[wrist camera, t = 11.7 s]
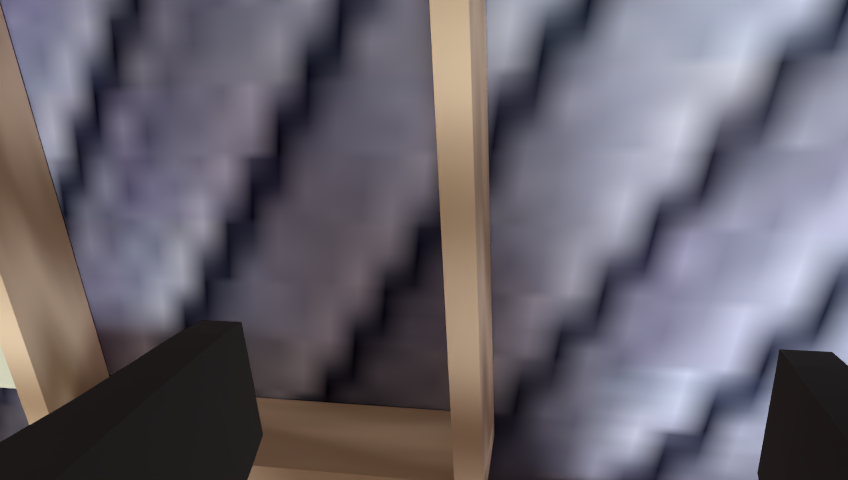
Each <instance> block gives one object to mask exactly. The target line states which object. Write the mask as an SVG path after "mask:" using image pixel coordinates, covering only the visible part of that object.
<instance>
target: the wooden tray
mask: <svg viewBox="0 0 848 480" xmlns="http://www.w3.org/2000/svg"><path fill="white" fill-rule="evenodd" d="M429 5H430V24H431V44H432V63H433V82H434V101H435V121H436V140H437V159H438V179H439V198H440V217H441V237H442V256H443V275H444V294H445V314H446V333H447V352H448V372H449V391H450V410H451V411H443V410H428V409H414V408H400V407H385V406H371V405H357V404H342V403H328V402H314V401H299V400H285V399H271V398H257V397H256V400H257V405H258V410H259V416H260V421H261V426H262V431H263V436H262V439H261V442H260V445H259V448H258V451H257V454H256V457H255V460H254V463H253V466H252V469H251V472H250V474H249V477H248V480H488V475H489V468H490V461H491V454H492V447H493V440H494V394H493V344H492V295H491V245H490V196H489V146H488V97H487V47H486V0H429ZM0 345H1V348H2V351H3V354H4V356H5V359H6V362H7V365H8V367H9V370H10V373H11V376H12V378H13V381H14V384H15V387H16V389H17V392H18V395H19V398H20V400H21V403H22V406H23V409H24V411H25V414H26V417H27V420H28V422H29V425H31V424H32V423H34V422H36V421H37V420H39V419H41V418H42V417H44V416H46V415H48V414H49V413H51V412H53V411H54V410H56V409H58V408H60V407H61V406H63V405H65V404H66V403H68V402H70V401H71V400H73V399H75V398H77V397H78V396H80V395H81V394H83V393H85V392H86V391H88V390H89V389H91V388H92V387H94V386H96V385H97V384H99V383H100V382H102V381H103V380H105V379H107V378H108V377H109V374H108V370H107V367H106V363H105V360H104V357H103V353H102V350H101V346H100V343H99V340H98V336H97V333H96V329H95V326H94V322H93V319H92V316H91V312H90V309H89V305H88V302H87V299H86V295H85V292H84V288H83V285H82V282H81V278H80V275H79V271H78V268H77V265H76V261H75V258H74V254H73V251H72V248H71V244H70V241H69V237H68V234H67V231H66V227H65V224H64V220H63V217H62V213H61V210H60V207H59V203H58V200H57V196H56V193H55V190H54V186H53V183H52V179H51V176H50V173H49V169H48V166H47V162H46V159H45V156H44V152H43V149H42V145H41V142H40V139H39V135H38V132H37V128H36V125H35V121H34V118H33V115H32V111H31V108H30V104H29V101H28V98H27V94H26V91H25V87H24V84H23V81H22V77H21V74H20V70H19V67H18V64H17V60H16V57H15V53H14V50H13V47H12V43H11V40H10V36H9V33H8V29H7V26H6V23H5V19H4V16H3V12H2V9H1V6H0Z"/></svg>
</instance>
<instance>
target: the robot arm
mask: <svg viewBox="0 0 848 480" xmlns="http://www.w3.org/2000/svg"><path fill="white" fill-rule="evenodd" d="M262 436H263V431H262V426H261V421H260V416H259V410H258V405H257V400H256V395H255V390H254V385H253V380H252V374H251V369H250V364H249V359H248V354H247V349H246V343H245V338H244V333H243V328H242V323H241V322H227V321H207V320H201V321H199V322H198V323H196V324H194V325H192V326H190V327H188V328H186V329H185V330H183V331H181V332H180V333H178V334H176V335H175V336H173V337H171V338H170V339H168V340H166V341H165V342H163V343H162V344H160V345H158V346H157V347H155V348H154V349H152V350H151V351H149V352H147V353H146V354H144V355H143V356H141V357H140V358H138V359H137V360H135V361H133V362H132V363H130V364H129V365H127V366H126V367H124V368H122V369H121V370H119V371H118V372H116V373H115V374H113V375H111V376H110V377H108V378H107V379H105V380H103V381H102V382H100V383H99V384H97V385H96V386H94V387H92V388H91V389H89V390H88V391H86V392H85V393H83V394H81V395H80V396H78V397H77V398H75V399H73V400H71V401H70V402H68V403H66V404H65V405H63V406H61V407H60V408H58V409H56V410H54V411H53V412H51V413H49V414H48V415H46V416H44V417H42V418H41V419H39V420H37V421H36V422H34V423H32V424H31V425H29V426H27V427H25V428H24V429H22V430H20V431H19V432H17V433H15V434H13V435H12V436H10V437H8V438H7V439H5V440H3V441H1V442H0V480H248V477H249V474H250V472H251V469H252V466H253V463H254V460H255V457H256V454H257V451H258V448H259V445H260V442H261V439H262ZM758 478H759V480H848V366H847V365H846V364H845V363H844V362H843V361H842V360H841V359H839V358H838V357H837V356H836V355H835V354H834V353H832V352H820V351H800V350H779V356H778V361H777V367H776V373H775V378H774V384H773V389H772V395H771V401H770V406H769V412H768V417H767V423H766V429H765V434H764V440H763V445H762V451H761V457H760V462H759V468H758Z"/></svg>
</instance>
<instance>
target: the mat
mask: <svg viewBox="0 0 848 480" xmlns="http://www.w3.org/2000/svg"><path fill="white" fill-rule="evenodd" d="M0 387H3V388H16V387H15V384H14V381H13V378H12V376H11V373H10V370H9V367H8V365H7V362H6V359H5V356H4V354H3V351H2V348H1V345H0Z"/></svg>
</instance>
